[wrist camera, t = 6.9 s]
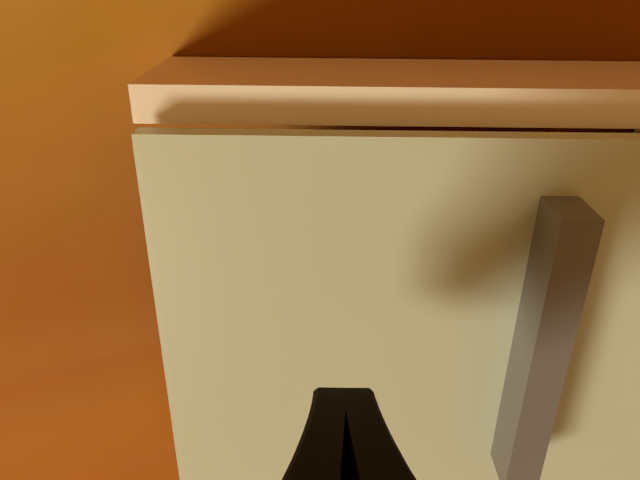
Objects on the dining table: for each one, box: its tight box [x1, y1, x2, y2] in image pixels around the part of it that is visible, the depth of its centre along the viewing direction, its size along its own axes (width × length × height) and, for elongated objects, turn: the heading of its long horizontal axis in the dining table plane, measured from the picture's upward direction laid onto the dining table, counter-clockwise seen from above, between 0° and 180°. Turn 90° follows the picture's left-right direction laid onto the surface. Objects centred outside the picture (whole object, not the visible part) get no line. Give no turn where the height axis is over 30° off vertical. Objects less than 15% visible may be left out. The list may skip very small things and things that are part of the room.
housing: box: [128, 56, 640, 133], centre depth 19 cm, size 14×32×4 cm, turn 90°
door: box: [131, 128, 640, 480], centre depth 16 cm, size 12×16×2 cm
